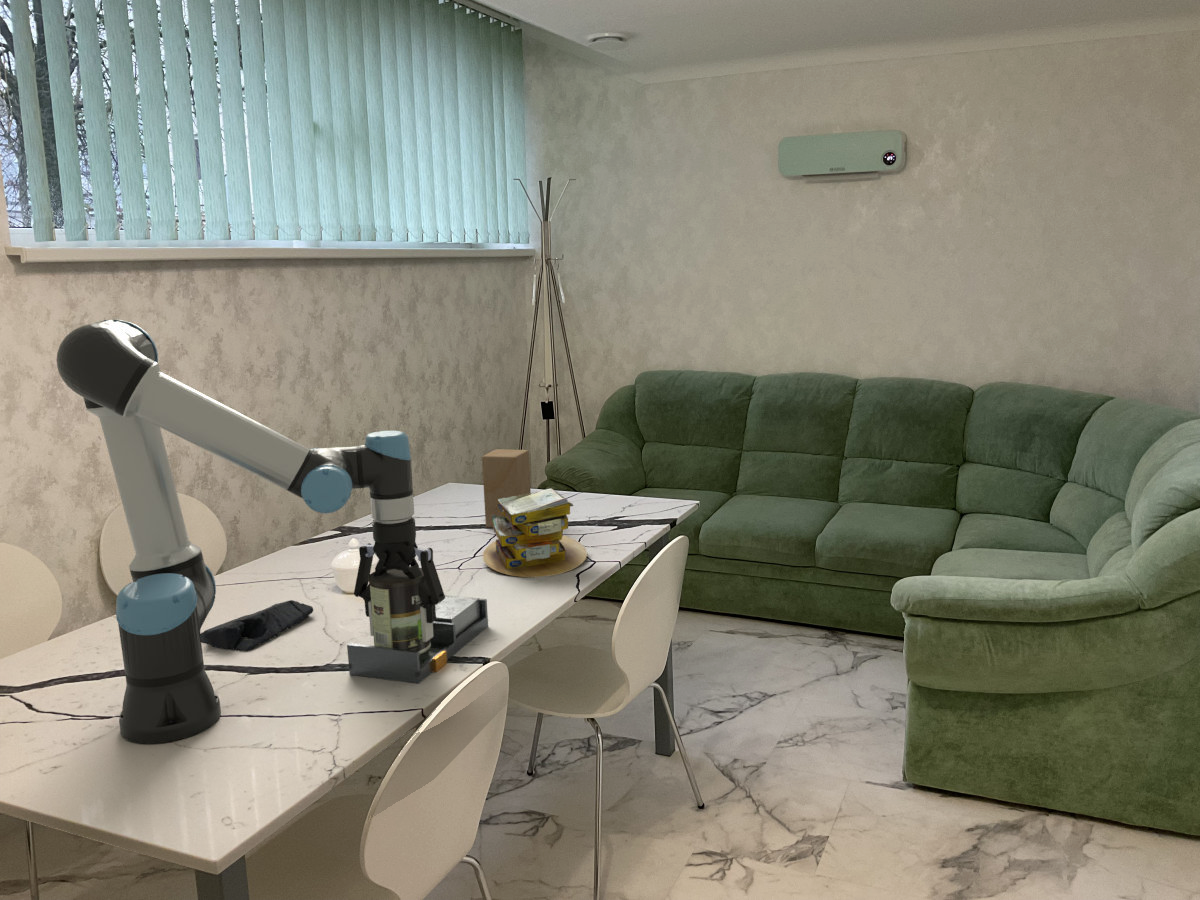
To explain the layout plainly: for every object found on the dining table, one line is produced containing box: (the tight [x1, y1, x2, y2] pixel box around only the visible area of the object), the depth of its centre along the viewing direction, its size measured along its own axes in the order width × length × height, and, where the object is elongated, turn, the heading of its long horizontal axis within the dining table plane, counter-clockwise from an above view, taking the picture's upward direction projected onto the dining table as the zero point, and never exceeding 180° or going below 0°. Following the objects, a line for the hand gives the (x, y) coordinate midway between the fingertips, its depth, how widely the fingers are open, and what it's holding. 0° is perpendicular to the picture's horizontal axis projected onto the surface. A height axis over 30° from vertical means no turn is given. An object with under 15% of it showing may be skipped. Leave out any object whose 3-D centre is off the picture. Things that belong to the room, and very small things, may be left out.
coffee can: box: [368, 565, 431, 654], centre depth 182 cm, size 10×10×14 cm
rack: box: [346, 594, 489, 684], centre depth 189 cm, size 28×15×6 cm, turn 161°
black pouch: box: [200, 599, 314, 651], centre depth 203 cm, size 15×22×5 cm
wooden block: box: [481, 448, 532, 529], centre depth 274 cm, size 10×10×20 cm
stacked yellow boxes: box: [482, 488, 588, 578], centre depth 241 cm, size 25×25×17 cm
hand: (402, 636), depth 183 cm, fingers closed on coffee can, 10 cm apart
